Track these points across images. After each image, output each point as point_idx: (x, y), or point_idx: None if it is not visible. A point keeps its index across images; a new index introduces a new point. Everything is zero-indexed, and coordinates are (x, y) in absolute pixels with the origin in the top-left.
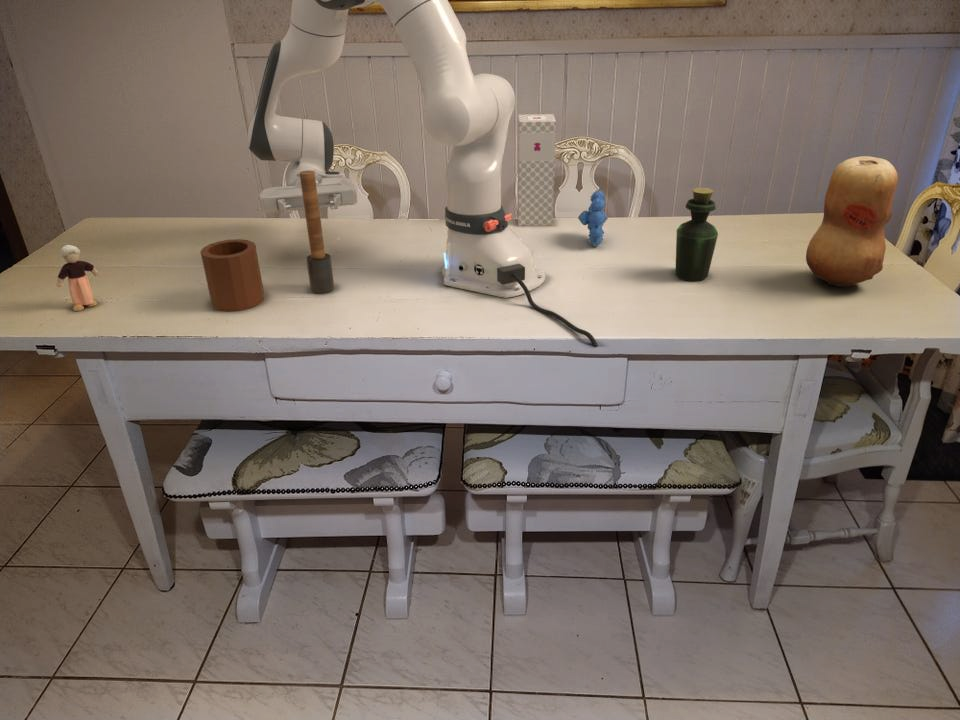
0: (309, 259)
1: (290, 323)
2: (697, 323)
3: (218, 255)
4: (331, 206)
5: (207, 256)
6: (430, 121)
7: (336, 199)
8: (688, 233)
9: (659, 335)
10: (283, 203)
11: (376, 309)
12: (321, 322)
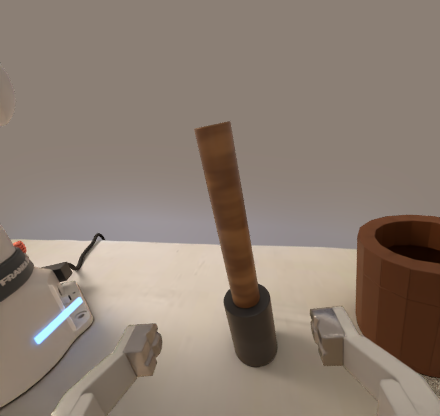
0: (263, 290)
1: (290, 263)
2: (33, 249)
3: (416, 220)
4: (156, 333)
5: (437, 217)
6: (6, 76)
7: (118, 342)
8: None
9: (64, 241)
10: (358, 337)
11: (196, 279)
12: (256, 263)
